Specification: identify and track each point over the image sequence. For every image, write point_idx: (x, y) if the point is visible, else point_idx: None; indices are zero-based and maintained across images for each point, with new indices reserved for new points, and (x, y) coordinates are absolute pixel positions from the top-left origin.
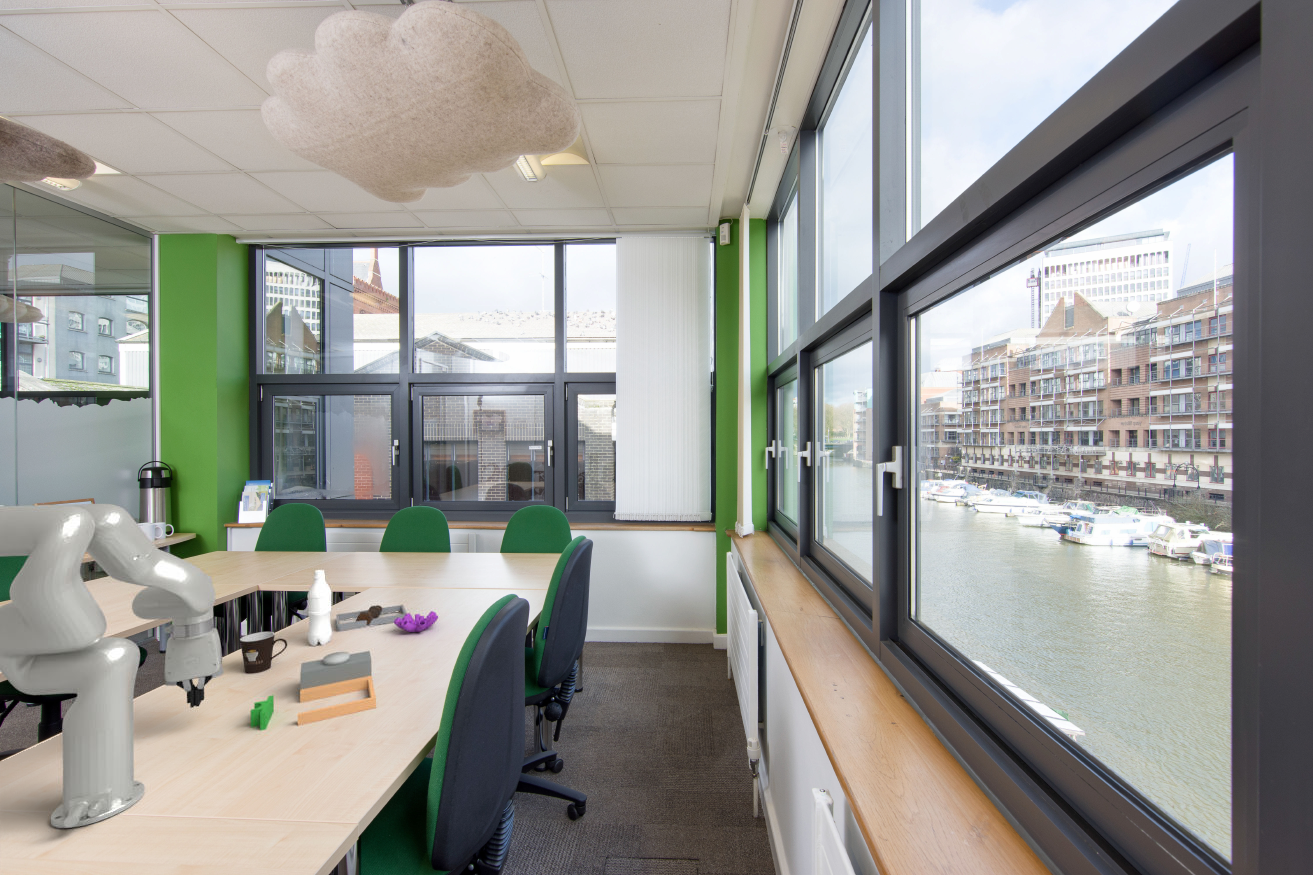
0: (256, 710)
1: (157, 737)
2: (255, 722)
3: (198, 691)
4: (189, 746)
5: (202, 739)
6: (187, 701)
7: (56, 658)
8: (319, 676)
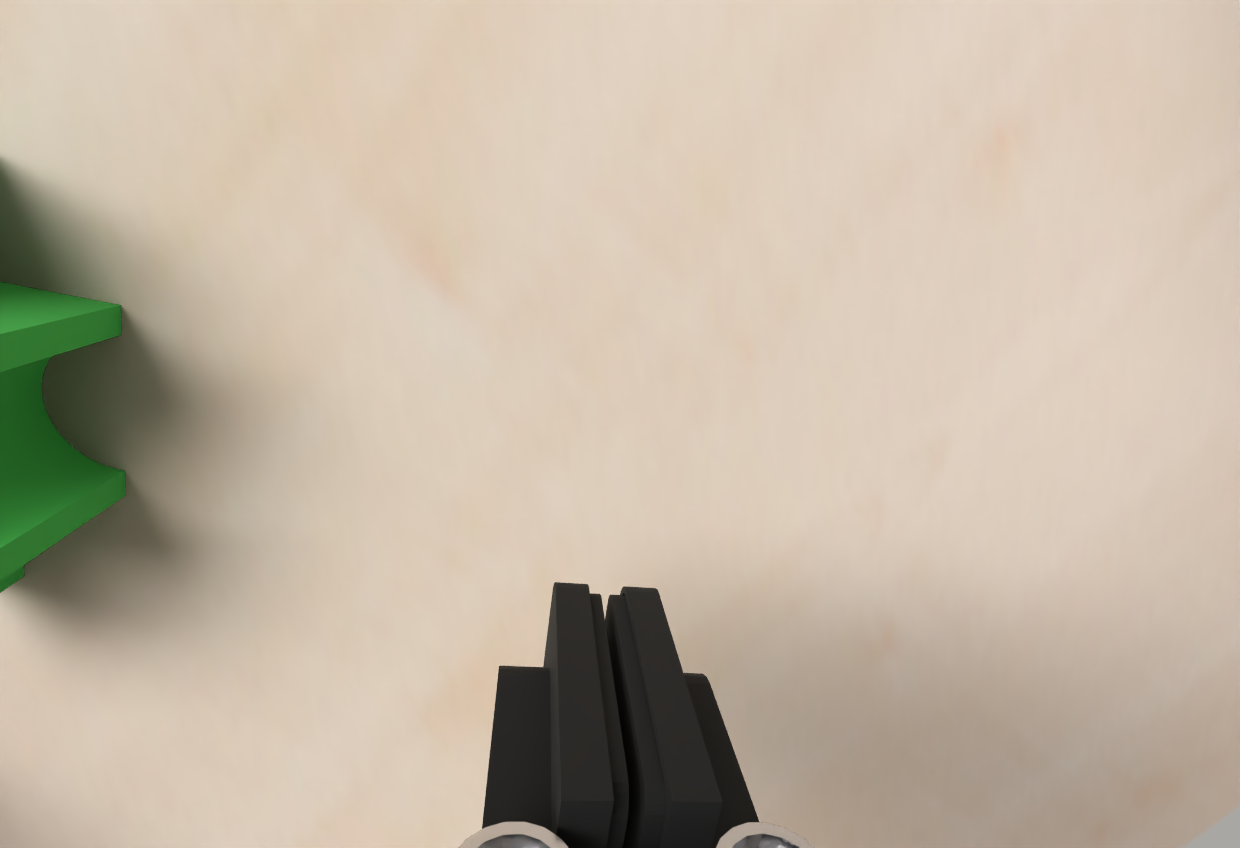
0: None
1: (819, 585)
2: (38, 300)
3: (558, 770)
4: (619, 229)
5: (525, 316)
6: (704, 684)
7: None
8: None
